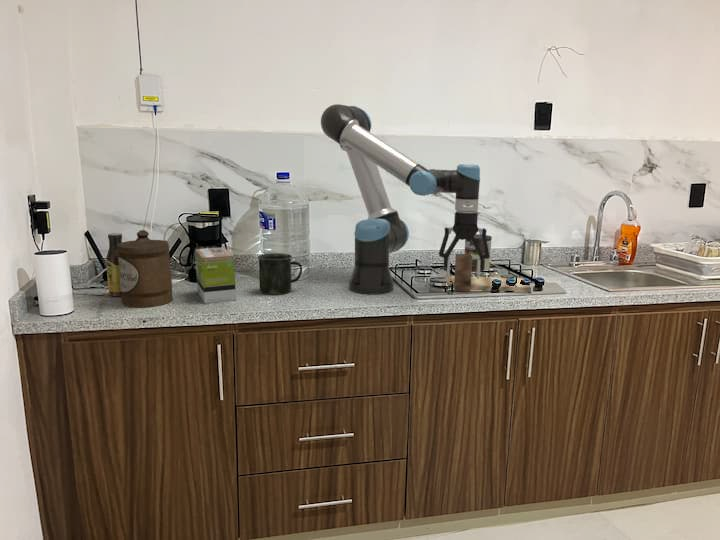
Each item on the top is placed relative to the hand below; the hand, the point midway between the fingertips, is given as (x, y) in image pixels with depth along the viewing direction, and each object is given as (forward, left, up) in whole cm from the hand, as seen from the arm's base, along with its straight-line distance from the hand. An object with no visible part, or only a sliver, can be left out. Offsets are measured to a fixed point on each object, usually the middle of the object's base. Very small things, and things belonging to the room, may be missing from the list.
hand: (462, 277), depth 192 cm
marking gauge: (0, +4, -4) cm, 6 cm away
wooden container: (-99, -26, -5) cm, 102 cm away
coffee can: (+9, +32, -5) cm, 34 cm away
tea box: (-80, -18, -5) cm, 82 cm away
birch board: (+9, +6, -5) cm, 12 cm away
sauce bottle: (-111, -20, -5) cm, 113 cm away
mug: (-61, -9, -5) cm, 62 cm away
